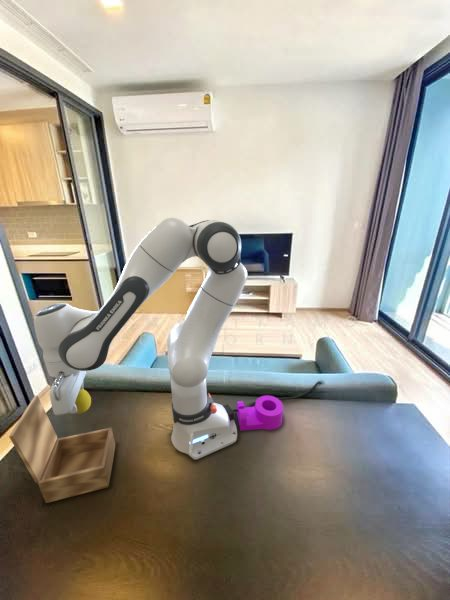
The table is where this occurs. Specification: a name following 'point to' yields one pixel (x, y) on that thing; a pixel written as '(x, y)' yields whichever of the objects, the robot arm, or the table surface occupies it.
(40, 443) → the lid
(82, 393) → the lemon
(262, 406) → the magenta bearing bracket
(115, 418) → the table surface
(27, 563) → the table surface
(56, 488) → the chest
